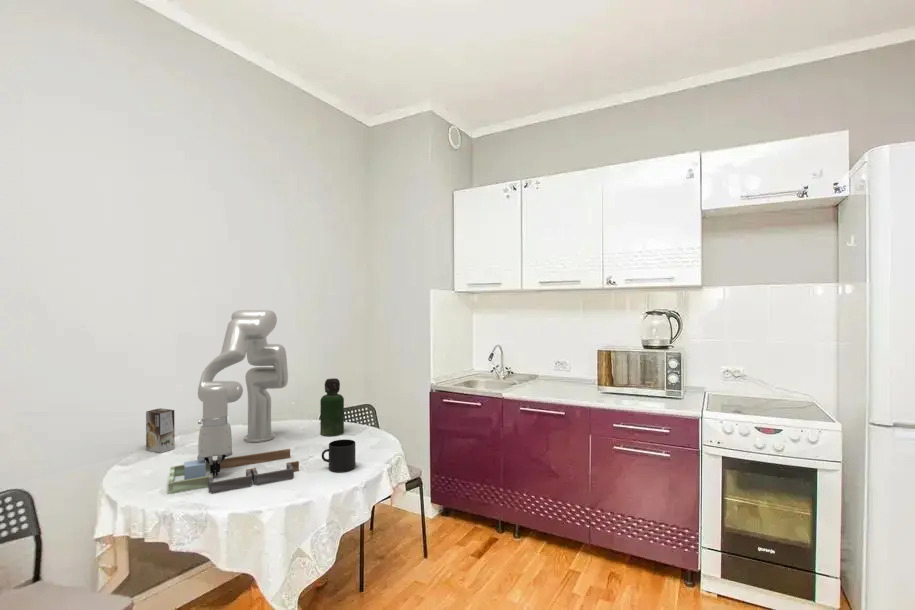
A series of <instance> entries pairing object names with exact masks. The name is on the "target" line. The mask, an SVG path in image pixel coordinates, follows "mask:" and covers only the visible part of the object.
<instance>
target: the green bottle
mask: <svg viewBox="0 0 915 610" xmlns="http://www.w3.org/2000/svg"><path fill="white" fill-rule="evenodd" d="M340 387H341V382H340V380H339V379H338V378H334V377H333V378H326V380H325V382H324V392H325V393H326V394H324V395H323V396H322V397H321V398H320V403H319V404H320V406H319V408H320V409H319V410H320V411H319V412H320V423H319V424H320V426H319V427H320V432H319V433H320V435H322V436H324V437H335V436H339V435H342V434H344V433H345V404H344V403H345V397H344V396H343V395H342V394H339V392H340Z"/></svg>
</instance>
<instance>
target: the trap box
mask: <svg viewBox="0 0 915 610" xmlns="http://www.w3.org/2000/svg"><path fill="white" fill-rule="evenodd" d="M290 458H291V449H290V448H285V449H279V450H272V451H265V452H259V453H254V454H253V453H252V454H247V455H245V454H244V455H239V456H231V457H226V458H225V459H224V460H223V461H222V462H221V463H220V470H223V469H224V470H225V469H229V468H235V467H241V466H249V465H255V464H260V463H266V462H273V461H279V460H286V459H290ZM216 460H217V459H213V461H214V463H216ZM205 463H206V472H210V464H209V463H208V462H206V461H205ZM285 467H286V468H285V469H280V470H274V471H269V472H263V473H258V471H257V470H258V469H257V467H254V468H248V469H245V476H240V477H234V478H229V479H222V480H215V481H214V476H213V474H211V475H206V476H205V477H199V478H192V479H186V480H184V479H182V480H175V479H176V478H175V477H178V476H179V477H180V476H184V464H181V465H173V466H170V470H169V476H168V484H167V485H168V488H167V489H168V493H167V494H168V495H172V494H175V492H177V493H181V492H180V491H183V492H187V491H186V490H188V491H192V490H191V489H194V490H198V488H200V489H204V488H208V494H209V493H211V494H217V493H224V492H228V491H233V490H234V489H235V490H239V489H240V490H241V489H244V488H249V487H251V486H253V485H256V486H261V485H266V484H267V485H268V484H271V483H278V482H282V481H288V480H292V479H293V478H294V473H295V472H299V471H300V462H299V460H295V461H290V462H289V461H288V462H286V465H285Z"/></svg>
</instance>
